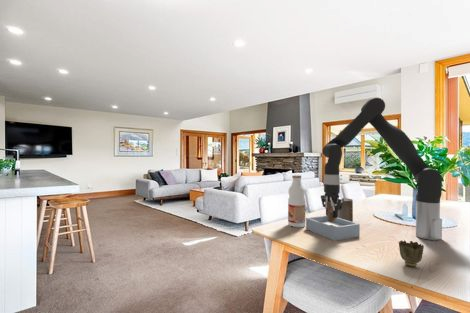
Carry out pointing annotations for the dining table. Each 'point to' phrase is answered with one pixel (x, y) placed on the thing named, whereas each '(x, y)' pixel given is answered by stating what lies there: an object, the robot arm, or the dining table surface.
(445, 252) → the dining table surface
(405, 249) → the mottled brown rounded lump
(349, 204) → the pillar candle
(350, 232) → the box
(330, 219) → the peg
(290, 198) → the fruit juice
